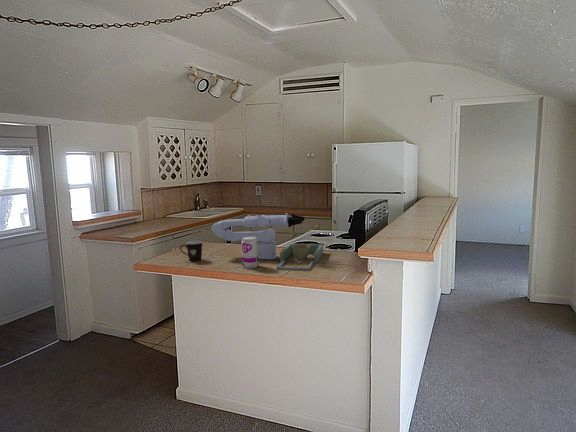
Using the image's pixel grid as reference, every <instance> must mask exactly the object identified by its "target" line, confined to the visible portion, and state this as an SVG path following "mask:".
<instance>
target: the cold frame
mask: <svg viewBox="0 0 576 432" xmlns="http://www.w3.org/2000/svg"><path fill="white" fill-rule="evenodd" d="M297 244H298V243H288V244H287V245H285V247H284V248H282V251H280V252H279V263H281V262H282V261H283V260H285V261H286V260H287V258H288V257H289V256H290V255H291V254H294V253H293V250H292V246H293V245H297ZM307 245H310V251H309V254H312V255H313V261H314V264H318V262H319V261H320V259H321V257H322V256H323V254H324V245H323V244H319V243H318V244H315V243H314V244H312V243H311V244H310V243H307Z"/></svg>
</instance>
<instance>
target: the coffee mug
mask: <svg viewBox="0 0 576 432" xmlns="http://www.w3.org/2000/svg"><path fill="white" fill-rule="evenodd" d="M182 247H185V248H186V250H187V253H186V252H184V251H183V250H182ZM179 250H180V252H182V254H184V255H186V256H188V260H189V262H192V263H194V262H195V263H196V262H200V261H202V253H203V241H201V240H192V241H187V242H186V245H185V244H182V245H181V246H180V247H179Z"/></svg>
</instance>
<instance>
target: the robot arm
mask: <svg viewBox="0 0 576 432" xmlns="http://www.w3.org/2000/svg"><path fill="white" fill-rule="evenodd" d="M304 221H305V216H302V215H298V214H295V213H291V214H290V215H289V214H288V212H286V213H285V214H277V215H275V214H271V215H266V214H261V215H258V214H256V215H250V214H249V215H247V216H244V218H238V219H236V218H235V219H234V218H233V219H224V220H220V221H218V222H216V223H213V224H212V225H211V231H212V233H213V234H214V236H216V237H219V238H221V239H223V240H225V241H227V242H228V241H229V242H233V241H234V242H239V241H240V242H241V241H242V239H243V238H244V237H256V238H257V240H258V260H275V259H277V257H278V258H279V255H278V254H277V249H276V248H277V247H276V246H277V245H276V239H275V238H276V237H277V232H276V230H275V229H273V228H267V229H265V230H258V231H257V230H256V231H255V230H254V231H232V230H231V229H230V227H234V226H235V227H236V226H237V227H238V226H245V228H251V227H261V228H263V227H265V226H267V227H268V226H270V227H273V226H274V227H276V226H278V227H279V226H280V227H281V226H282V227H283V226H284V227H285V226H286V227H288V228H291V227H294V226H296V225H301V224H303V222H304Z"/></svg>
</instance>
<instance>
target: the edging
mask: <svg viewBox="0 0 576 432" xmlns="http://www.w3.org/2000/svg"><path fill="white" fill-rule="evenodd" d="M285 263H286V259H285V260H283V261H282V262H279V264H278V265H277V266H276V270H277V271H278V270H281V271H309V272H310V271H311V268H313V265H314V264H315V263H314V260H311V261H310V262H309V264H308V265H307V266H306V267H301V266H300V267H299V266H284V264H285Z"/></svg>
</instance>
